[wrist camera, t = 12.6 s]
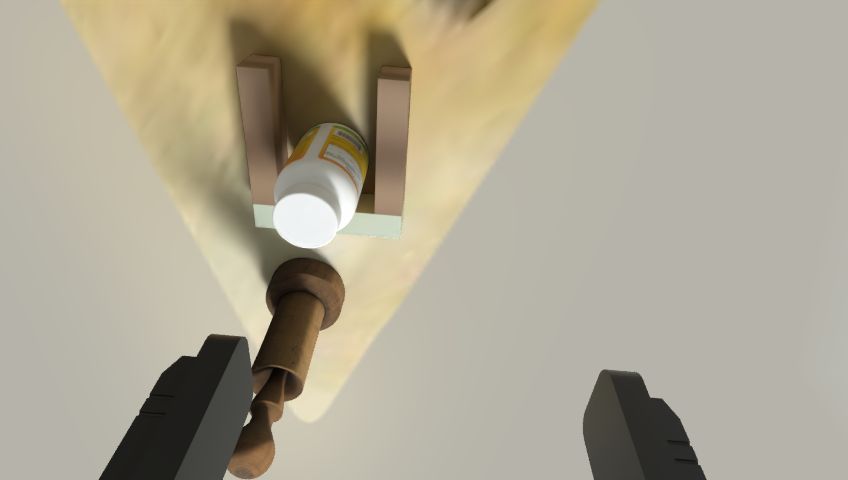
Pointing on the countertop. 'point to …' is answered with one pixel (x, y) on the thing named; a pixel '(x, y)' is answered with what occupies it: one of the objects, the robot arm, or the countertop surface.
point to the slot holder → (271, 155)
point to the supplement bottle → (320, 185)
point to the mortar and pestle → (285, 353)
